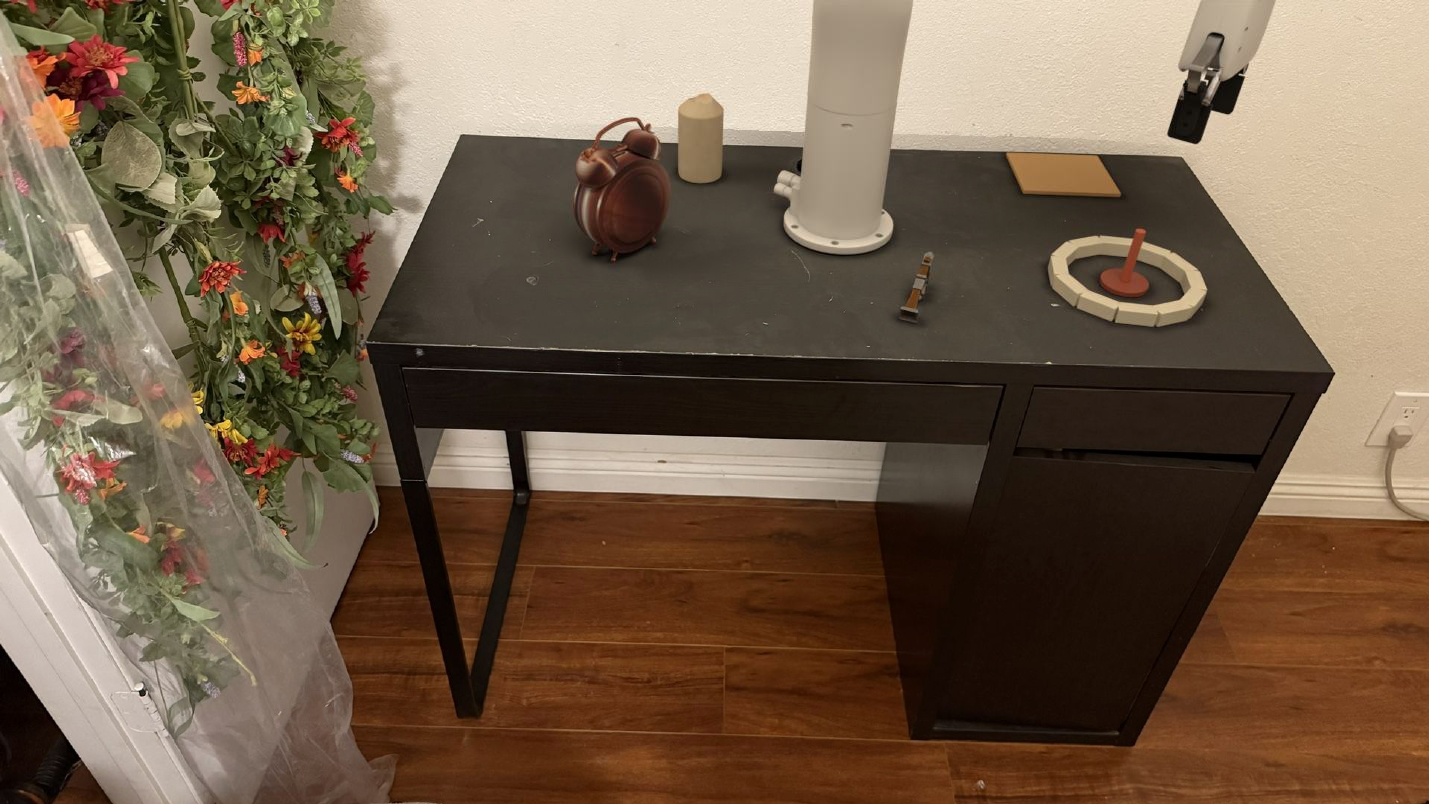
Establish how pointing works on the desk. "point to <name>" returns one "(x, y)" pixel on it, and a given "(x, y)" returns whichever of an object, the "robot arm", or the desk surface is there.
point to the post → (1127, 273)
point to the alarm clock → (622, 190)
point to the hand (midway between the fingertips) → (1199, 124)
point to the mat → (1062, 175)
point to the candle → (700, 139)
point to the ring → (1120, 310)
